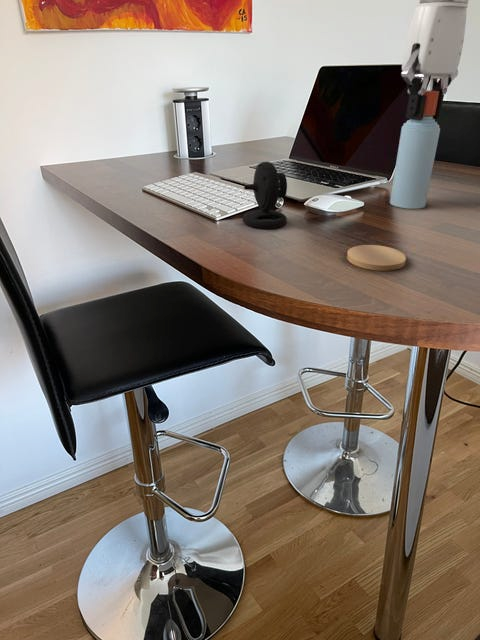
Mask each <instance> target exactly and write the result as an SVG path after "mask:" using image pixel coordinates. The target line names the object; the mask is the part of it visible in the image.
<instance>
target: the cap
mask: <svg viewBox="0 0 480 640" xmlns="http://www.w3.org/2000/svg"><path fill="white" fill-rule="evenodd" d="M424 95H427V96H426V103H425V108H424V114H423V116H433V115H435V112H436V107H437V102H438V95H439V91H430V89H426V90H425V93H424Z"/></svg>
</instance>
